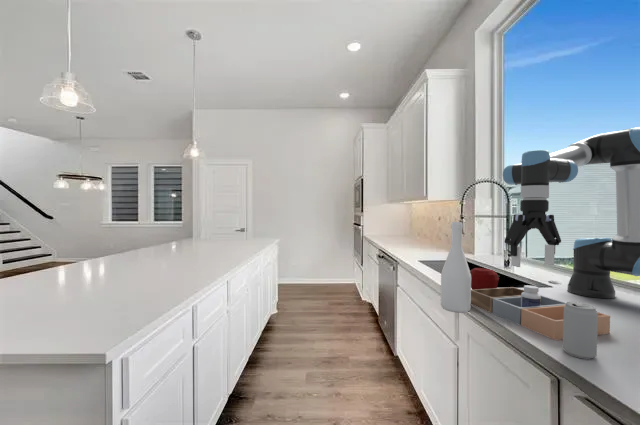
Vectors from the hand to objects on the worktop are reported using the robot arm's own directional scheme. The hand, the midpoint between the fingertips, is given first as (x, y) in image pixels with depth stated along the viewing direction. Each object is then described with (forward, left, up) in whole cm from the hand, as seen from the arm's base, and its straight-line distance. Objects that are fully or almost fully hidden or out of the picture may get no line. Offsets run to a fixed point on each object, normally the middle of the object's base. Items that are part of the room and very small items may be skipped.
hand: (532, 265), depth 103 cm
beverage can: (+12, +24, -17) cm, 31 cm away
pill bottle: (0, 0, -17) cm, 17 cm away
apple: (-3, -24, -17) cm, 30 cm away
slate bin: (0, 0, -17) cm, 17 cm away
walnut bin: (0, -11, -17) cm, 20 cm away
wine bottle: (+19, -12, -17) cm, 28 cm away
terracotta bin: (0, +11, -17) cm, 20 cm away
